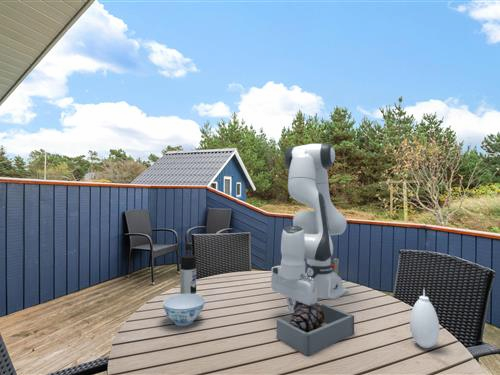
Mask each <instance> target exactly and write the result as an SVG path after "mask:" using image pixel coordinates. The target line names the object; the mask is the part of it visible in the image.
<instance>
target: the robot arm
mask: <svg viewBox="0 0 500 375" xmlns="http://www.w3.org/2000/svg"><path fill="white" fill-rule="evenodd" d="M334 148H335V147H334V146H333V145H332V144H331V143H326V142H322V143H307V144H303V145H298V146H290V147H288V148H287V149H286V151H285V152H284V163H285V166H286V167H287V168H288V177H287V180H288V181H287V189H288V190H287V191H288V194H289V196H290V197H291V198H292V199H293V200H294V201H296V202H298V203H300V204H303V205H305V206H307V207H310V208H311V209H312V210H301V211H298V212H296V213H295V214H294V215H293V217H292V225H289V226H285V227H284V228H283V229H282V232H281V239H280V254H281V260H280V264H279V265H275V266H272V267H271V270H270V271H271V273H272V274H271V277H270V278H271V280H270V281H271V282H270V286H271V290H272V291H273V292H275V293H277V294H280V295H282V296H284V297H285V300H286V303H287V304H288V307H287V308H288V310H290V311H292V312H294V311H295V309H296V307H297V306H298V304H299V302H301V303H303V304H306V305H308V306H311V305H314V304H316V302H317V303H318V299H321V300H322V299H328V300H329V299H330V300H336V299H338V298H339V297H341V296H343V295H344V294H347V293H348V292H349V289H347V288H346V287H345V286H343V285H344V284H343V280H342V278H341V277H340V276H339V275H338V274H337V273H336V272H334V269H337V265H336V264H335V263H331V262H332V261H331V260H332V259H331V258H332V256H333V253H334V244H333V241H332V238H331V236H338V235H343V233H345V231H346V229H347V225H348V224H347V219H346V217H345V216H344V215H343V214H342V212H340V211H339V210H337V208H336V207H335V206H334V204H333V202H332V199H331V196H330V187H329V175H328V169H329V168H331V166H332V165H333V164H334V163H335V160H336V159H335V158H336V152H335V149H334ZM305 259H306V260H305Z"/></svg>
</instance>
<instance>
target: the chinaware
mask: <svg viewBox="0 0 500 375" xmlns="http://www.w3.org/2000/svg"><path fill="white" fill-rule="evenodd" d="M205 303H206V298H205V297H204V296H203V295H200V294H197V293H196V294H180V293H179V294H174V295H171V296H169V297H167V298H165V299H163V301H162V306H163V310H164V312H165V314H166V316H167V317H168V318H169V319H170V320H171V321H173V323H174V324H175V325H176V326H180V327H185V326H190V325H191V324H193V323H194V320H195V319H197V318H199V316H200V314H201V313H202V311H203V309H204V306H205Z"/></svg>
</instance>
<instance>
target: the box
mask: <svg viewBox="0 0 500 375" xmlns="http://www.w3.org/2000/svg"><path fill="white" fill-rule="evenodd" d="M320 305H321V306H322V307H323V309H324V313H325V317H324V320H323V323H325V325H321V326H320V328H317V329H315V330H313V331H310V332H308V333H306V332H304V331H302V330H300V329H298V328H296V327H294V326H292V325H290V324H289V323H290V322H287V321H284V320H283V319H281V318H277V319H276V339H277V340H279V341H281V342H282V343H284V344H285V345H287V346H289V347H290V348H292V349H294V350H296V351H297V352H299V353H300V354H302V355H304V356H306V357H309V356H311V355H313V354H315V353H318V352H319V351H322V350H324V349H325V348H328V347H329V346H332V345H333V344H337V343H338V342H340V341H342V340H344V339H346V338H348V337H350V336H353V335H354V334H355V315H353V314H351V313H347V312H346V311H344V310H343V311H342V310H340V309H338V308H336V307H333V306H329V305H327V304H325V303H322V304H320Z"/></svg>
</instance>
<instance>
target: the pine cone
mask: <svg viewBox="0 0 500 375" xmlns="http://www.w3.org/2000/svg"><path fill="white" fill-rule="evenodd" d="M324 317H325V313H324V309H323V307H322V306H321V304H320V303H318V301H317V302H316V304H314V305H311V306H308V305H306V304H303V303H301V302H299V304H298V306H297V307H296V309H295V311H293V314H292V316H291V318H290V322H288V323H289V324H290V325H292V326H294V327H296V328H298V329H300V330H302V331H304V332H306V333H308V332H310V331H313V330H315V329H317V328H320V327H322V326H323V324H324V322H323V320H324Z"/></svg>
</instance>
